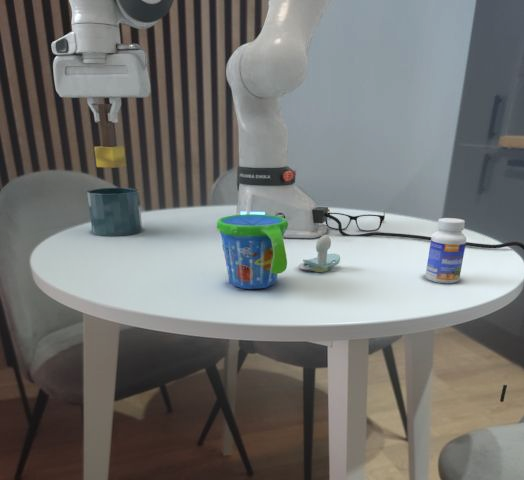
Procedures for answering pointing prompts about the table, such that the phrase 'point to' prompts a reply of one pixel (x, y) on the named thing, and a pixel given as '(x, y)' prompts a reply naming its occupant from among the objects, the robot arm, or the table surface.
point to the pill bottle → (446, 251)
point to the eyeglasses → (356, 221)
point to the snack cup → (253, 249)
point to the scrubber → (108, 143)
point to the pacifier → (321, 257)
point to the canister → (115, 211)
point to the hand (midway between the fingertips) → (106, 122)
